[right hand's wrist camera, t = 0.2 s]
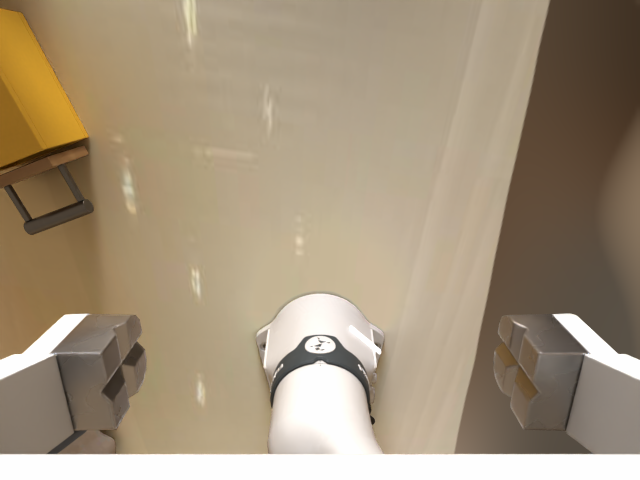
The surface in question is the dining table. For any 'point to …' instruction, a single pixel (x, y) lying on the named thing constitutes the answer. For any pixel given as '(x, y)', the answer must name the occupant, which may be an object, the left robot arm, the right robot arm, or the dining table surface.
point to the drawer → (37, 168)
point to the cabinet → (30, 98)
